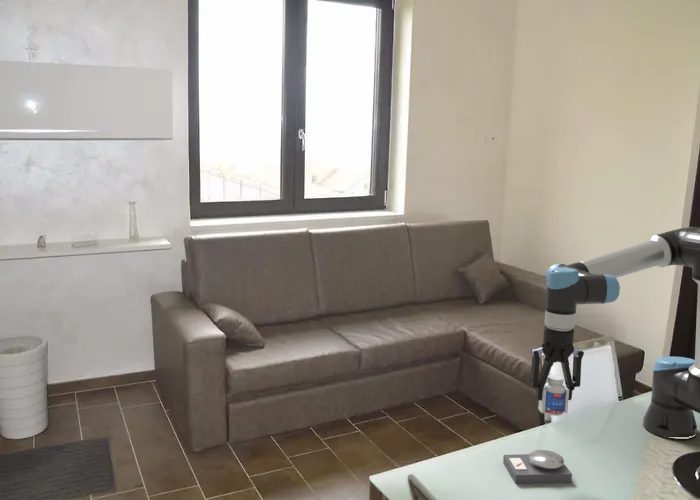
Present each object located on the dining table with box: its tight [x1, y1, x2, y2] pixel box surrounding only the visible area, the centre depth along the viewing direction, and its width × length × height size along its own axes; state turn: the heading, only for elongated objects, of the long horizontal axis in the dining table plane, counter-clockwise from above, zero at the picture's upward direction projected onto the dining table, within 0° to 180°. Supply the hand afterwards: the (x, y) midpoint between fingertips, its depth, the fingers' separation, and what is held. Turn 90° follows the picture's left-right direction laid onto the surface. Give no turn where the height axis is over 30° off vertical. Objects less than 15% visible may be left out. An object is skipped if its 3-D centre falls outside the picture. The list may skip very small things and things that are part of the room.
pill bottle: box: [544, 374, 565, 417], centre depth 168 cm, size 6×5×10 cm
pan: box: [529, 449, 565, 470], centre depth 171 cm, size 9×9×1 cm
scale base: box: [502, 453, 573, 484], centre depth 172 cm, size 15×11×3 cm
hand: (552, 411), depth 169 cm, fingers closed on pill bottle, 5 cm apart
